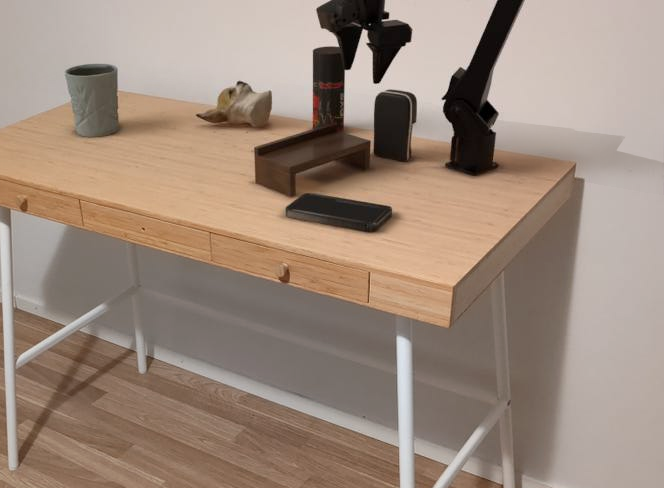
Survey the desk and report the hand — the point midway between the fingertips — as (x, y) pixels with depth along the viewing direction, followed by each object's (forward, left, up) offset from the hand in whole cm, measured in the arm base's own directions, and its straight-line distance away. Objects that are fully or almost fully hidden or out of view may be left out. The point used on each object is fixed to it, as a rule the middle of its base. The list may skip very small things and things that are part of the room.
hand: (361, 76), depth 152 cm
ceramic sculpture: (+31, +3, -14) cm, 34 cm away
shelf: (-1, +12, -14) cm, 19 cm away
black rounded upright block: (-4, -4, -14) cm, 15 cm away
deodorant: (+15, -6, -14) cm, 21 cm away
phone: (-17, +21, -14) cm, 31 cm away
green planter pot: (+49, +25, -14) cm, 56 cm away
